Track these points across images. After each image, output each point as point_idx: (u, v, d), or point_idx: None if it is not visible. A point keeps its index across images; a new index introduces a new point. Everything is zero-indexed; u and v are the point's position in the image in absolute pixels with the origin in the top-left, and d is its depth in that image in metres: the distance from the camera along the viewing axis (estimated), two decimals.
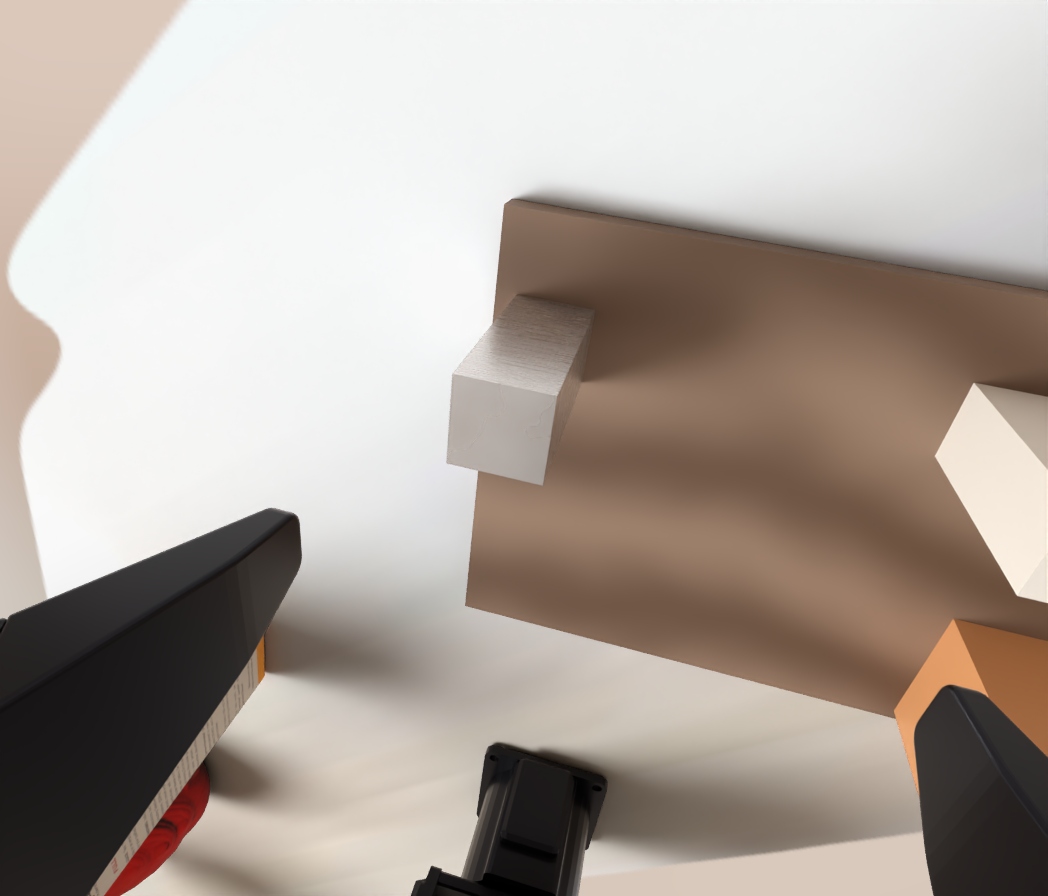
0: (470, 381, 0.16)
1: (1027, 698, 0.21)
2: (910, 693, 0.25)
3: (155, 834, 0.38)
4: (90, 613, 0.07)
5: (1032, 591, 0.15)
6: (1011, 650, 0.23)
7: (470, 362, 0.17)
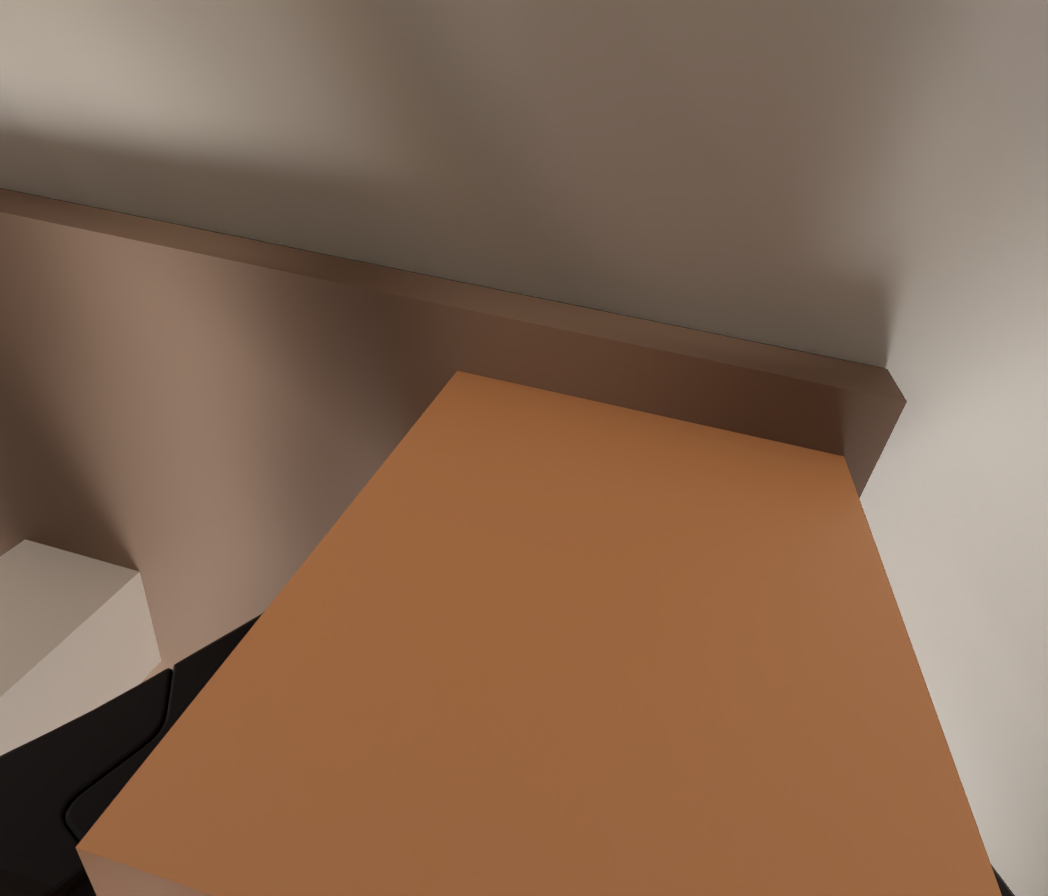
0: None
1: None
2: None
3: None
4: None
5: None
6: None
7: None
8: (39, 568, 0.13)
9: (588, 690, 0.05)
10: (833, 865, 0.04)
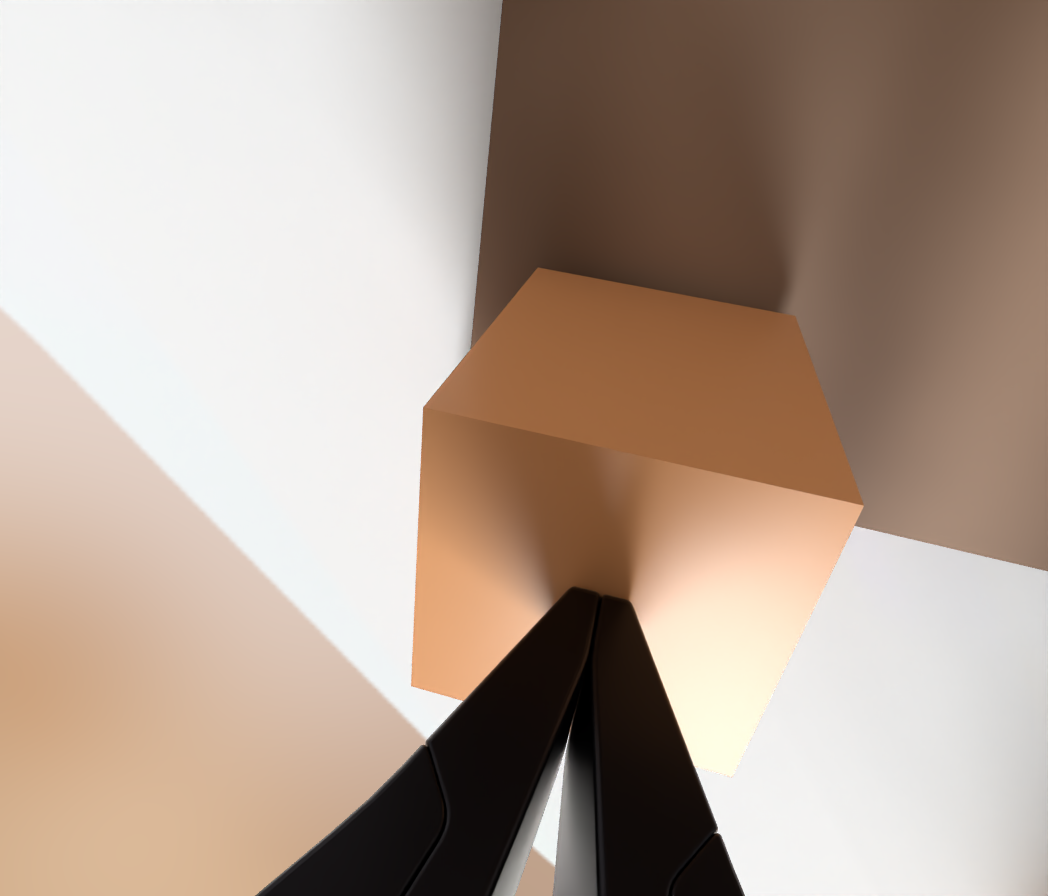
0: None
1: None
2: None
3: None
4: (503, 734, 0.06)
5: None
6: None
7: None
8: None
9: (642, 385, 0.09)
10: (763, 436, 0.08)
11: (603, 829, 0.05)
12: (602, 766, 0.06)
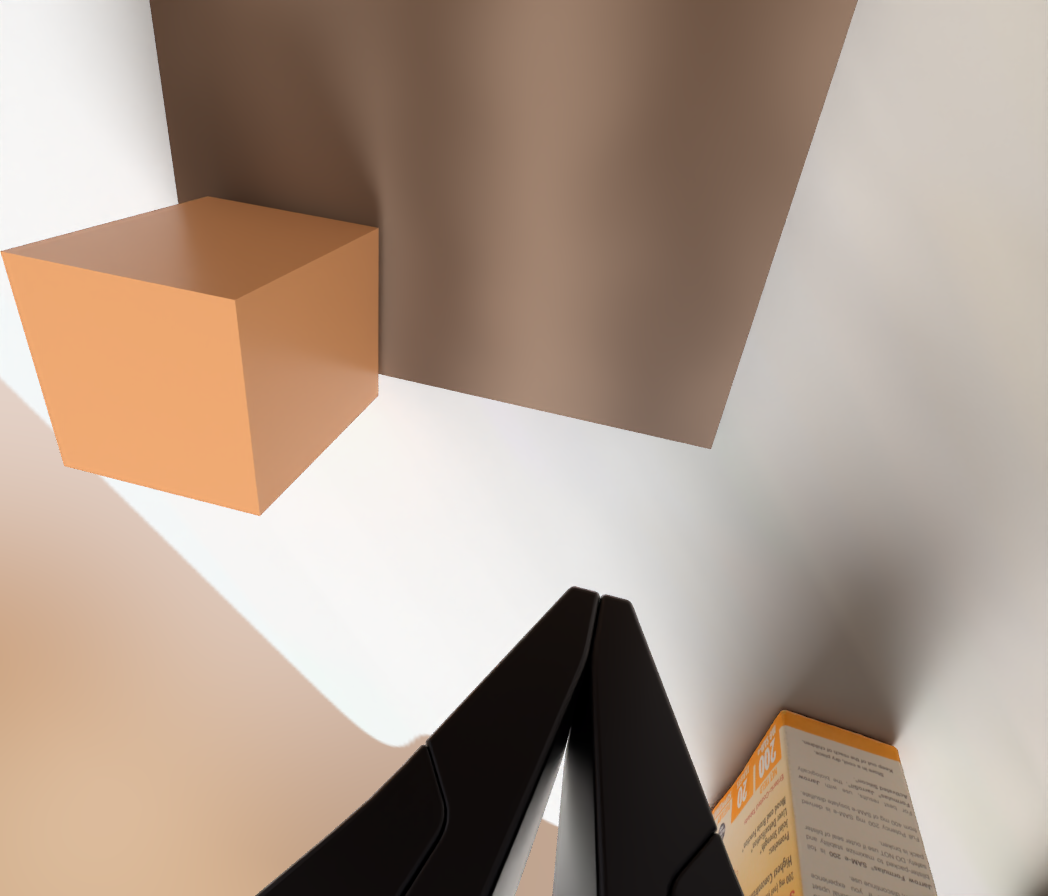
0: None
1: None
2: None
3: None
4: (503, 735, 0.06)
5: None
6: None
7: None
8: None
9: (178, 251, 0.15)
10: (224, 274, 0.14)
11: (602, 829, 0.05)
12: (601, 766, 0.06)
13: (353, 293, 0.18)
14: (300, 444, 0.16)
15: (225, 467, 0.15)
